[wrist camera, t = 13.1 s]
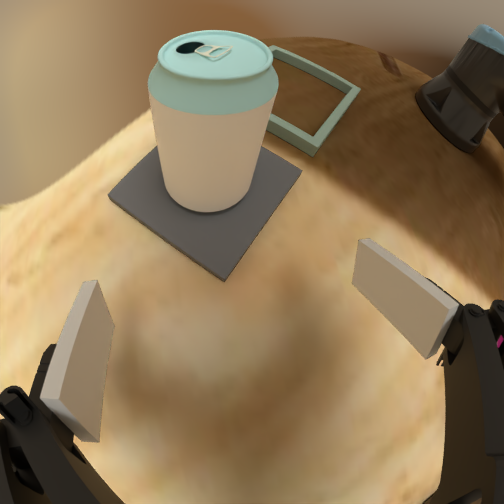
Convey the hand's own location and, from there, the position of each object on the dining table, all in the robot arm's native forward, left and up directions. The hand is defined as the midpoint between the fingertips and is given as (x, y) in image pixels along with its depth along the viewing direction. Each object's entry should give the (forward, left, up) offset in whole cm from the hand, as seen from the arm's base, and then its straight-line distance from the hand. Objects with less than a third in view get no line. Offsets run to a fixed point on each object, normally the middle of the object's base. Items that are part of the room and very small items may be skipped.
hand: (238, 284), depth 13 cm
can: (-7, -7, -6) cm, 12 cm away
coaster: (-7, -7, -7) cm, 12 cm away
